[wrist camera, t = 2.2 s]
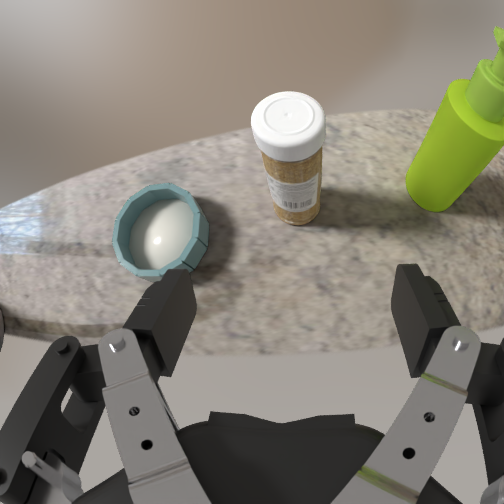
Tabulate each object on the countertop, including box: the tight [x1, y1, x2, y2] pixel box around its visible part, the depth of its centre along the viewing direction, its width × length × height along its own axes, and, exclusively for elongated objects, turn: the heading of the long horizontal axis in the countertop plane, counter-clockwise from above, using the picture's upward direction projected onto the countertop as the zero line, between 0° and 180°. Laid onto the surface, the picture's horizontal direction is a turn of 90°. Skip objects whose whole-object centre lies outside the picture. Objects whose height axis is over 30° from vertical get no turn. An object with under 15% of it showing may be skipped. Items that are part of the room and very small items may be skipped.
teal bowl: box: [112, 183, 209, 282], centre depth 30 cm, size 9×9×3 cm
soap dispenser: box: [406, 26, 504, 212], centre depth 19 cm, size 6×7×20 cm
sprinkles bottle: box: [251, 92, 326, 225], centre depth 24 cm, size 5×5×13 cm
